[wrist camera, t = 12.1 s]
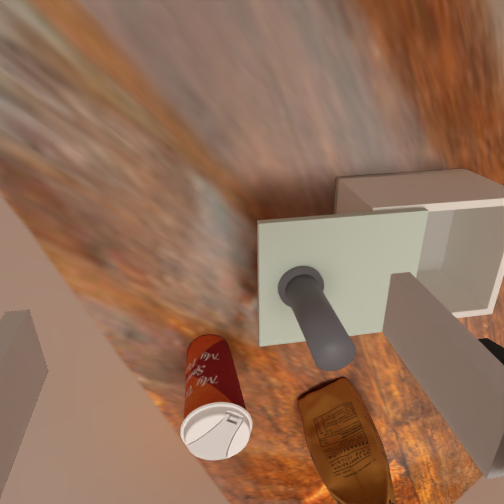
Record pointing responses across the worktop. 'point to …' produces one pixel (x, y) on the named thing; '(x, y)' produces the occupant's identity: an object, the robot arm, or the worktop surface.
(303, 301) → the lid
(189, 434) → the paper cup
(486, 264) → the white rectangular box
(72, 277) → the worktop surface
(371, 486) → the coffee package
